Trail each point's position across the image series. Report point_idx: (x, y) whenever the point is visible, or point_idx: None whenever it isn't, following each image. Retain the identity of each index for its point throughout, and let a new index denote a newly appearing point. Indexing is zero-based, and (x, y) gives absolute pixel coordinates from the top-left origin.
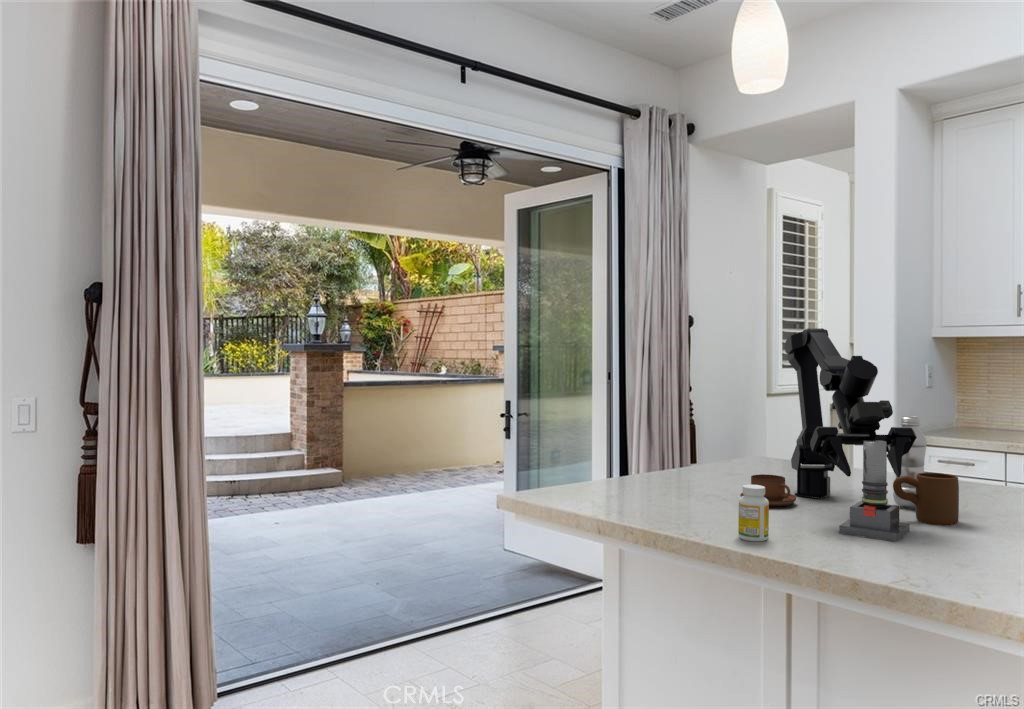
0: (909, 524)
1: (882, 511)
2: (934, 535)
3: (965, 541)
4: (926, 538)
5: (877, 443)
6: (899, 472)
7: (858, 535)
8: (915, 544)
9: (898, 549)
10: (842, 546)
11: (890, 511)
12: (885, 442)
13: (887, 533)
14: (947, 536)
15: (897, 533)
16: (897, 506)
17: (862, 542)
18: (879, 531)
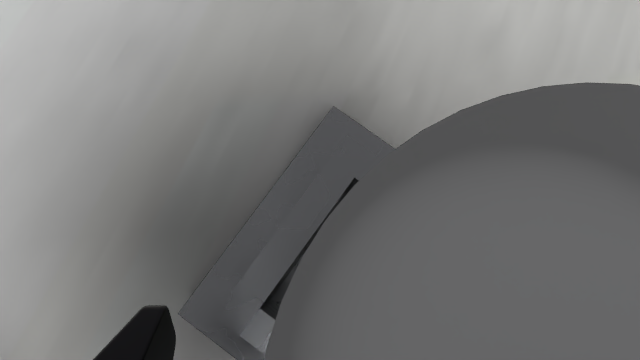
0: (183, 306)
1: (379, 158)
2: (110, 246)
3: (37, 149)
4: (175, 189)
5: (629, 98)
6: (154, 310)
7: None
8: (272, 86)
9: (374, 8)
10: (577, 37)
11: (340, 144)
12: (369, 175)
13: (364, 129)
14: (62, 231)
15: (327, 114)
16: (235, 292)
17: (476, 103)
18: (392, 149)
